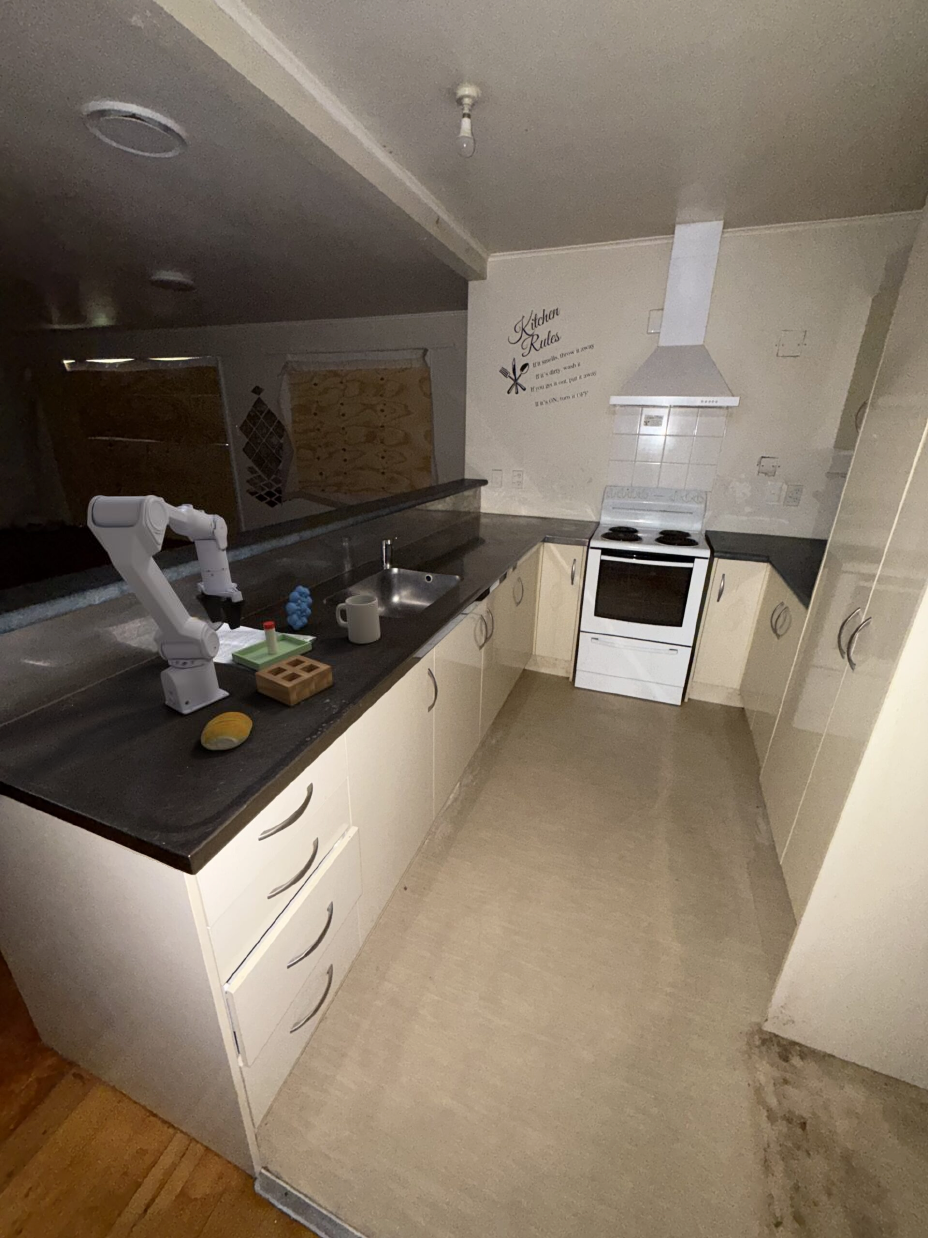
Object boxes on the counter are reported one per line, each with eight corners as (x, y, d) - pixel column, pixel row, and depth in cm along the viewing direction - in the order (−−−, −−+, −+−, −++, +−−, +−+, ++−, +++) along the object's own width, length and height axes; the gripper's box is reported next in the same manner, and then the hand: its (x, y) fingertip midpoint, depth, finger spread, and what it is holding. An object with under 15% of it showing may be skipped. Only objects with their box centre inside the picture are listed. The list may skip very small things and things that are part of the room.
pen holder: (291, 706, 99) (288, 687, 98) (257, 691, 105) (254, 673, 103) (333, 684, 108) (331, 666, 106) (300, 671, 114) (297, 654, 112)
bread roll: (255, 721, 94) (252, 703, 93) (247, 748, 86) (243, 729, 85) (209, 726, 92) (205, 708, 91) (196, 754, 84) (191, 735, 83)
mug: (385, 632, 136) (382, 595, 132) (373, 645, 128) (370, 605, 124) (345, 629, 138) (341, 593, 134) (331, 641, 130) (327, 602, 126)
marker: (272, 655, 121) (267, 625, 118) (265, 653, 122) (261, 623, 119) (280, 652, 123) (276, 622, 120) (274, 649, 124) (269, 620, 121)
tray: (260, 671, 114) (259, 664, 113) (232, 660, 119) (231, 652, 119) (312, 649, 125) (311, 642, 125) (284, 639, 131) (283, 633, 131)
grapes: (299, 618, 146) (293, 580, 142) (319, 620, 145) (315, 581, 140) (277, 633, 135) (271, 592, 131) (299, 635, 134) (293, 594, 130)
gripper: (250, 569, 108) (259, 626, 113) (213, 560, 115) (224, 614, 120) (220, 576, 102) (231, 635, 107) (184, 567, 110) (196, 622, 115)
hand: (225, 625), depth 113 cm, fingers open, 7 cm apart
